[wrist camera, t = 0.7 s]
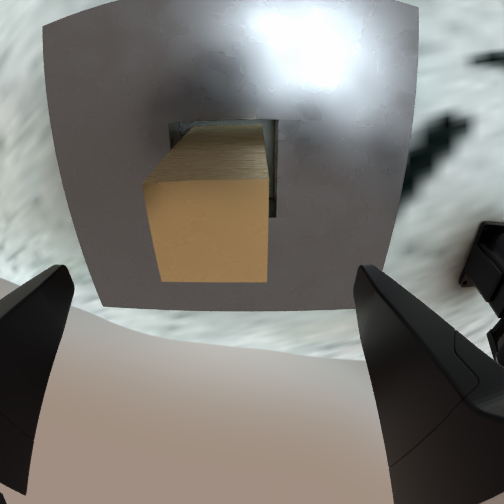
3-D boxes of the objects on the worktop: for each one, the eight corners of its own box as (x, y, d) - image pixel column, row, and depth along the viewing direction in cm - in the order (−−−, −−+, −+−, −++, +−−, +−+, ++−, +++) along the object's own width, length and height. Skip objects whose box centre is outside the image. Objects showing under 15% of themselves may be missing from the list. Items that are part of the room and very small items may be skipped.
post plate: (398, 12, 12) (418, 7, 10) (362, 285, 23) (370, 307, 21) (64, 27, 12) (42, 26, 10) (113, 285, 23) (103, 306, 21)
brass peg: (261, 124, 17) (269, 179, 9) (261, 187, 19) (266, 282, 11) (192, 126, 17) (142, 183, 9) (197, 188, 19) (161, 281, 12)
